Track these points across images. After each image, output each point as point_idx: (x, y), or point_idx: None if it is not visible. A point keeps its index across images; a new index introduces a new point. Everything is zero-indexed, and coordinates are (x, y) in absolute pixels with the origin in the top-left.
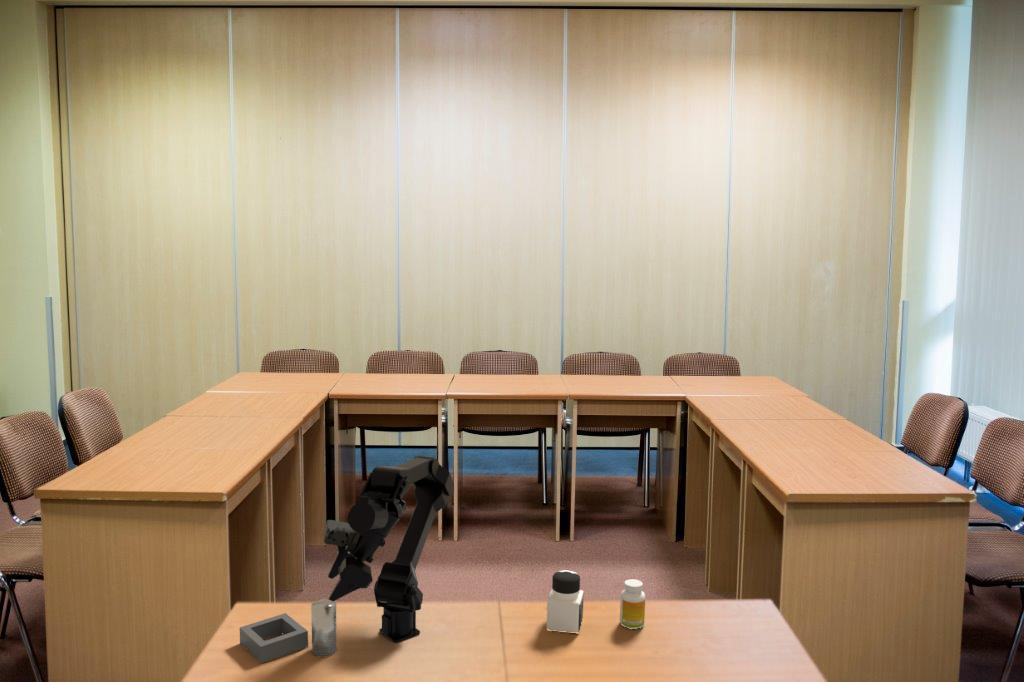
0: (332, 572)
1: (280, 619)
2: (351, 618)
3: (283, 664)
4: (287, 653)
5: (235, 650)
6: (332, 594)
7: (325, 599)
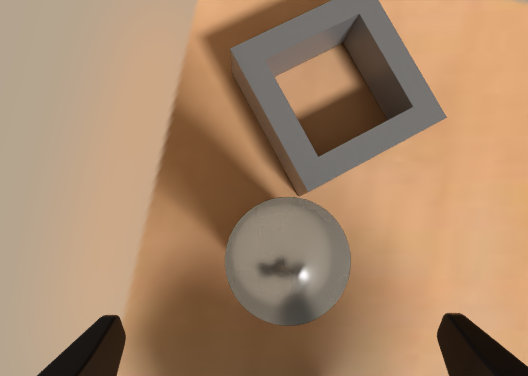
0: (469, 361)
1: (409, 103)
2: None
3: (214, 131)
4: (268, 139)
5: (315, 7)
6: (59, 359)
7: (345, 267)
